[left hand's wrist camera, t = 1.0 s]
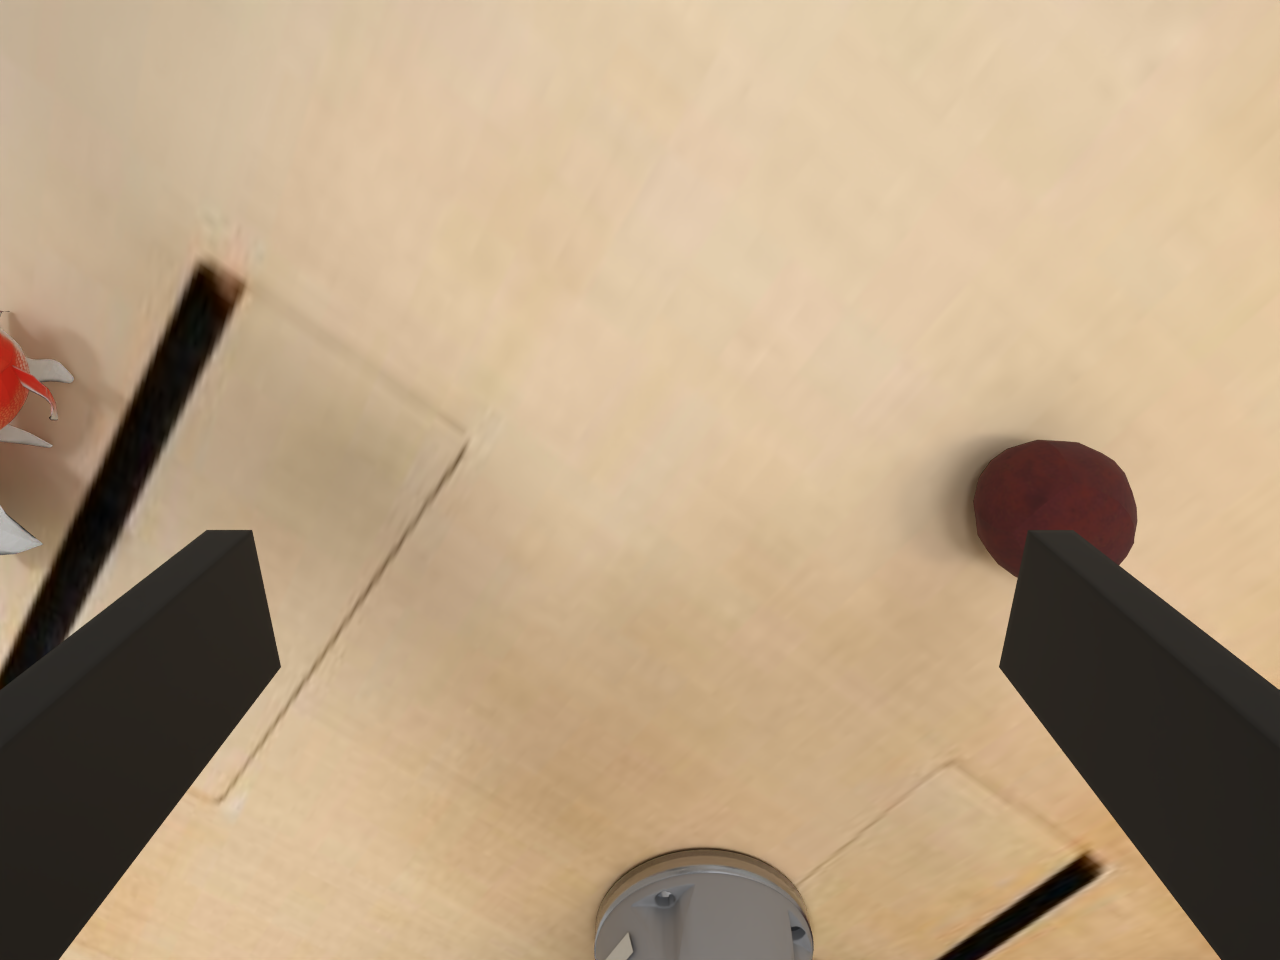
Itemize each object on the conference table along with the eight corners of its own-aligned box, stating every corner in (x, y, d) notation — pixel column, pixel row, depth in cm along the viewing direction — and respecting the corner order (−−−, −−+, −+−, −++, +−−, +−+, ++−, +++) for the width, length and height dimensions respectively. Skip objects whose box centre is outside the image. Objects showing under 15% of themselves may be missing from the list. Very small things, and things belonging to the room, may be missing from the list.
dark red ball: (1014, 571, 43) (1082, 640, 36) (921, 493, 41) (975, 550, 34) (1117, 479, 40) (1209, 533, 34) (1023, 393, 39) (1102, 433, 32)
